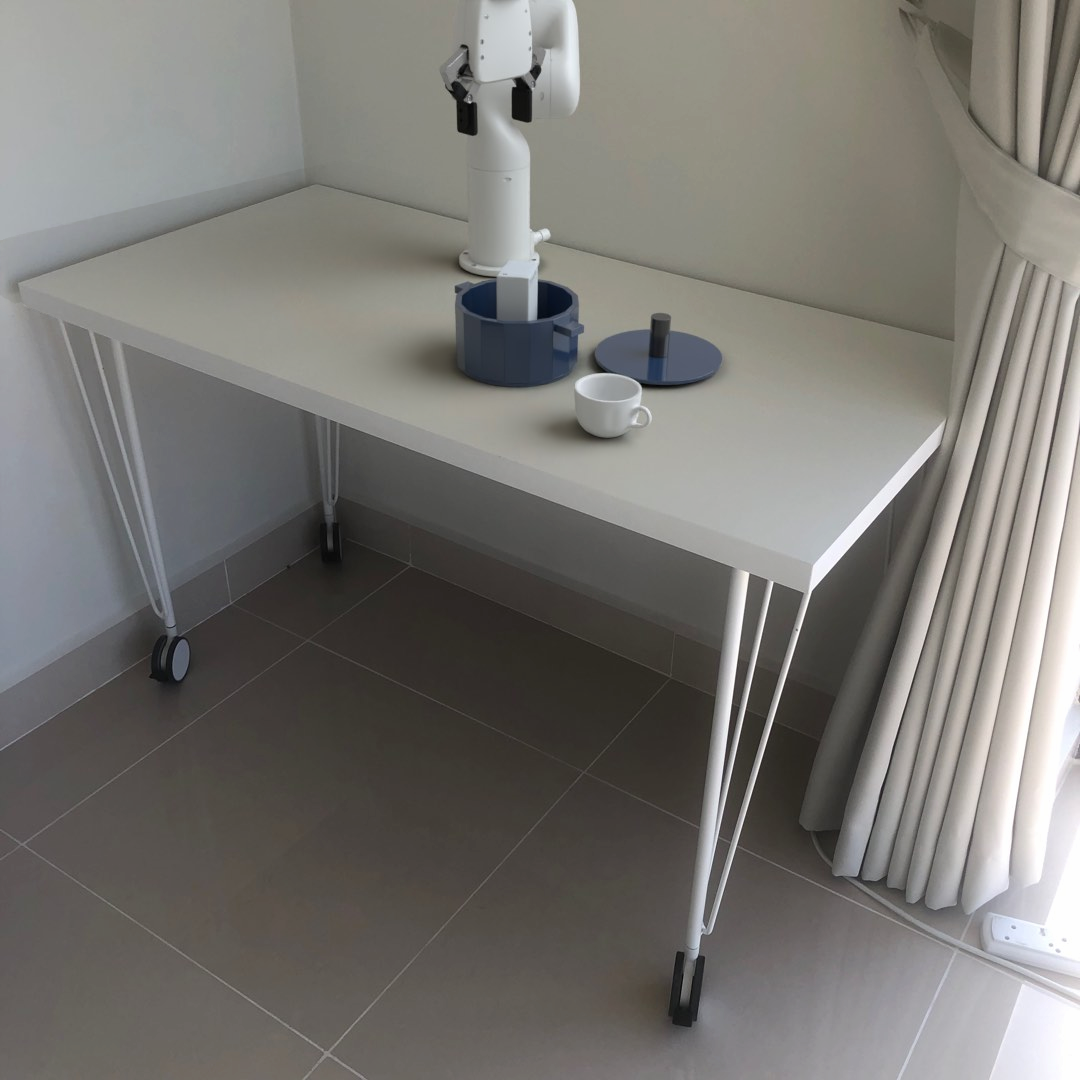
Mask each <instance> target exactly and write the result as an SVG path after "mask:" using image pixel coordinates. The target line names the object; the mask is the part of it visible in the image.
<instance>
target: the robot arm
mask: <svg viewBox="0 0 1080 1080" xmlns="http://www.w3.org/2000/svg"><path fill="white" fill-rule="evenodd" d="M573 1H574V0H456V2H455V9H454V14H453V15H454V17H453V28H452V47H451V48H452V49H451V51H452V53H451V56H450V57H449V58H448V59H446V60H445V62H443V63H442V64H441V65H440V67H439V69H438V70H439V73H440V76H441V78H442V80H443V83H444V88H445V89H446V90H447V92H449V94H450V95H451V99H452V100H453V101H455V103H456V107H455V108H456V129H457V130H456V131H457V132H458V133H459V134H463V135H465V145H466V147H465V148H466V179H467V181H466V182H467V183H466V184H467V185H466V186H467V221H468V223H467V224H468V226H467V227H468V228H467V230H468V248H467V249H466V248H465V250H463V251H462V252H461V253H460V254H459V256H458V260H459V261H458V264H459V266H460V267H461V268H462V269H463V270H465V271H467V272H468V273H471V274H475V275H477V276H478V275H479V276H482V277H483V276H484V277H495V278H497V275H498V274H499V272H500V271H501V268H502V267H503V266H504V265H505V264H506V262H507V261H518V262H530V263H538V267H539V265H540V263H541V262H540V255H539V253H538V252H537V251H536V250H535V247H537V245H538V244H542V243H544V242H547V241H549V240H550V239H551V232H550V230H549V229H548V228H545V227H544V228H541V229H538V230H536V231H533V230H532V228H531V150H530V146H529V143H528V141H527V139H526V138H525V136H524V135H523V133H522V132H521V130H520V129H519V128H518V127H517V125H516V124H514V122H513V121H519V122H522V123H526V124H529V123H531V122H532V120H562V119H566V118H568V117H571V116H572V115H573V114H574V113H575V111H576V110H577V108H578V105H579V102H580V95H581V94H580V93H581V69H580V44H579V43H580V42H579V41H580V40H579V23H578V14H577V13H578V12H577V9H576V6H575V2H573Z"/></svg>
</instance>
